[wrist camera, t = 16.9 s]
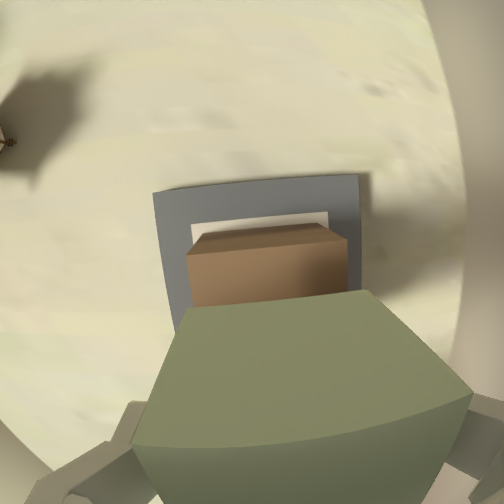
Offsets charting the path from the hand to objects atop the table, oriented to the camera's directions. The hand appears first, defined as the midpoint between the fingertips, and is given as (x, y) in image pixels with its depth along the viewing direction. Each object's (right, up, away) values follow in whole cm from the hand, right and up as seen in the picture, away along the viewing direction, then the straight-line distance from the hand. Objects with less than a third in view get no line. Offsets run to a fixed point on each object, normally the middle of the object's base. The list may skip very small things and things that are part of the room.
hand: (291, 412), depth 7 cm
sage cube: (0, 0, +2) cm, 2 cm away
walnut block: (0, +2, +10) cm, 10 cm away
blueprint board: (0, +3, +11) cm, 11 cm away
